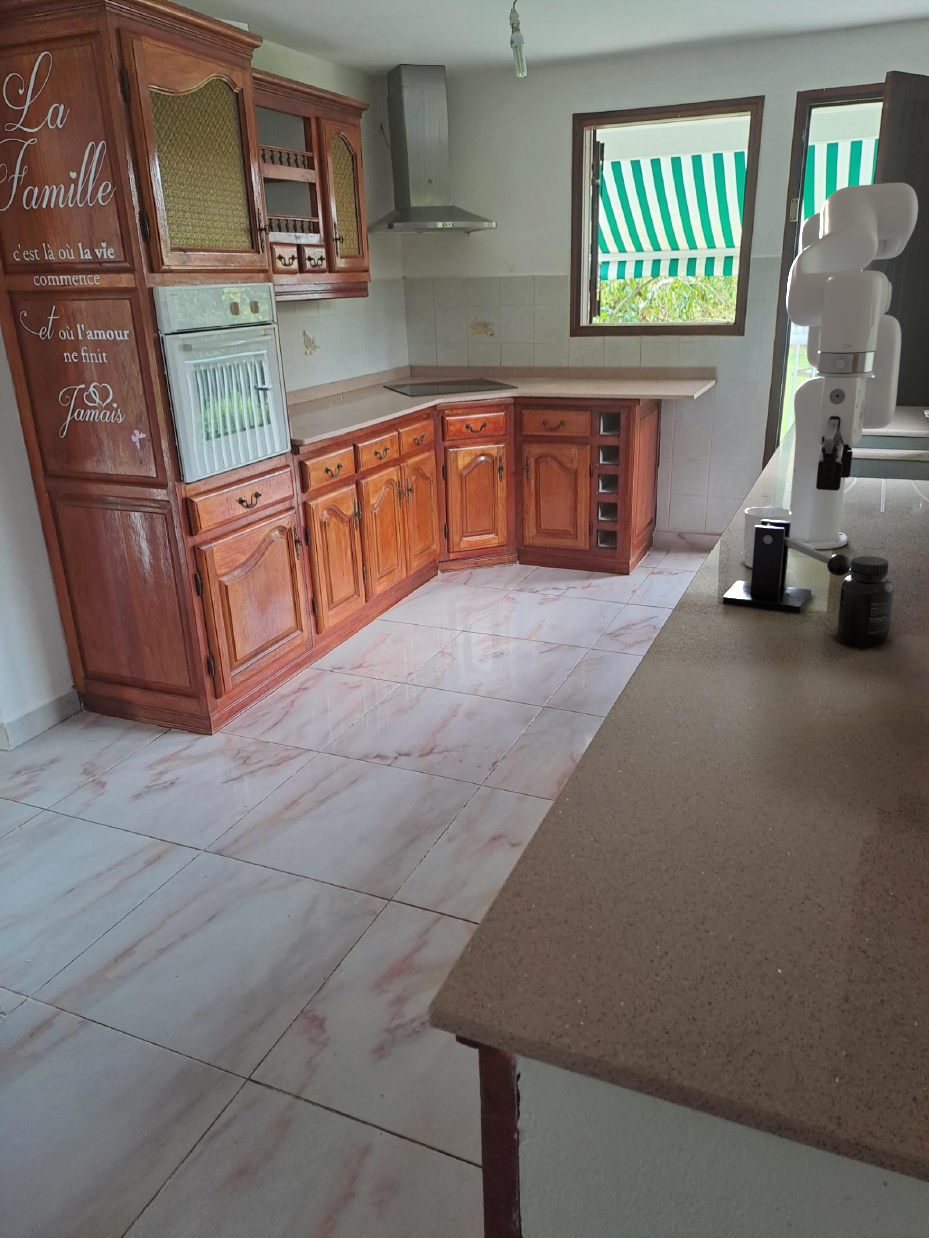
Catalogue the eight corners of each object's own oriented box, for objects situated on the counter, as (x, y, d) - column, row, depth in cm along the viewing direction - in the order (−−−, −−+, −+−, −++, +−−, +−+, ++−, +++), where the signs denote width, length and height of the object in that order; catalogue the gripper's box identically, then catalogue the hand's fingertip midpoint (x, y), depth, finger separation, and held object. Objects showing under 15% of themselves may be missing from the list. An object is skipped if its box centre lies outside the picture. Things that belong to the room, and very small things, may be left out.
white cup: (789, 571, 157) (793, 517, 154) (743, 570, 159) (746, 516, 155) (783, 558, 165) (787, 506, 161) (739, 558, 166) (742, 506, 163)
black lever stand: (810, 596, 145) (818, 520, 140) (799, 613, 138) (807, 534, 133) (737, 587, 151) (742, 514, 146) (722, 603, 144) (727, 527, 139)
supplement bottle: (885, 633, 129) (895, 554, 124) (889, 651, 123) (900, 569, 118) (834, 629, 131) (843, 552, 127) (836, 646, 125) (845, 566, 121)
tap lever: (846, 575, 138) (856, 557, 137) (842, 582, 136) (852, 563, 134) (762, 537, 143) (771, 519, 141) (757, 543, 140) (766, 524, 139)
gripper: (865, 370, 117) (851, 496, 123) (881, 359, 131) (868, 474, 137) (806, 370, 121) (795, 493, 127) (827, 360, 135) (817, 471, 141)
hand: (833, 483), depth 132 cm, fingers open, 9 cm apart
